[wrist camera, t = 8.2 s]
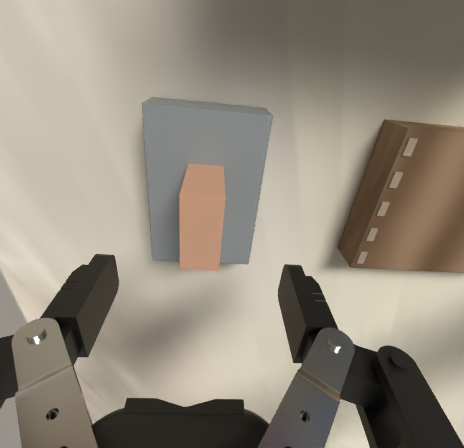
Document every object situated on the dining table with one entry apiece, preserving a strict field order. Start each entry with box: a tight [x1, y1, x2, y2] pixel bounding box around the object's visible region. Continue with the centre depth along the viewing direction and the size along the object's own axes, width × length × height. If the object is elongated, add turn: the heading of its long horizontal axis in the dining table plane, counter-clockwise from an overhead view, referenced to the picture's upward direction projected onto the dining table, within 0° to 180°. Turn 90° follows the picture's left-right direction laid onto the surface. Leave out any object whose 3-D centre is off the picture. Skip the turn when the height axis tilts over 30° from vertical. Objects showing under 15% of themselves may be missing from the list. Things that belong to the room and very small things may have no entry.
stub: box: [142, 97, 273, 271], centre depth 19 cm, size 8×12×8 cm, turn 174°
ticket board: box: [338, 120, 464, 273], centre depth 23 cm, size 16×12×3 cm
